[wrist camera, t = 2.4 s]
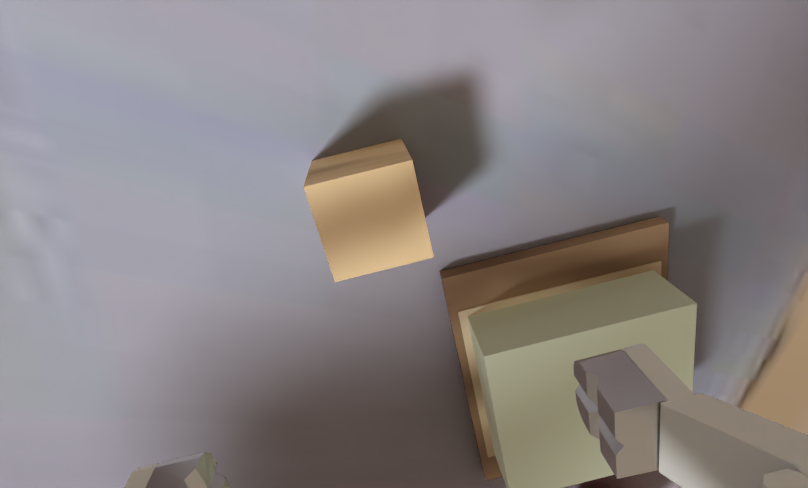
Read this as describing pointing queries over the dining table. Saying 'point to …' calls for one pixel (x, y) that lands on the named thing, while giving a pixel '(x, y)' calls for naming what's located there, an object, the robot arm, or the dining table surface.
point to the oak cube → (368, 210)
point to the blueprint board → (542, 291)
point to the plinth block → (569, 369)
